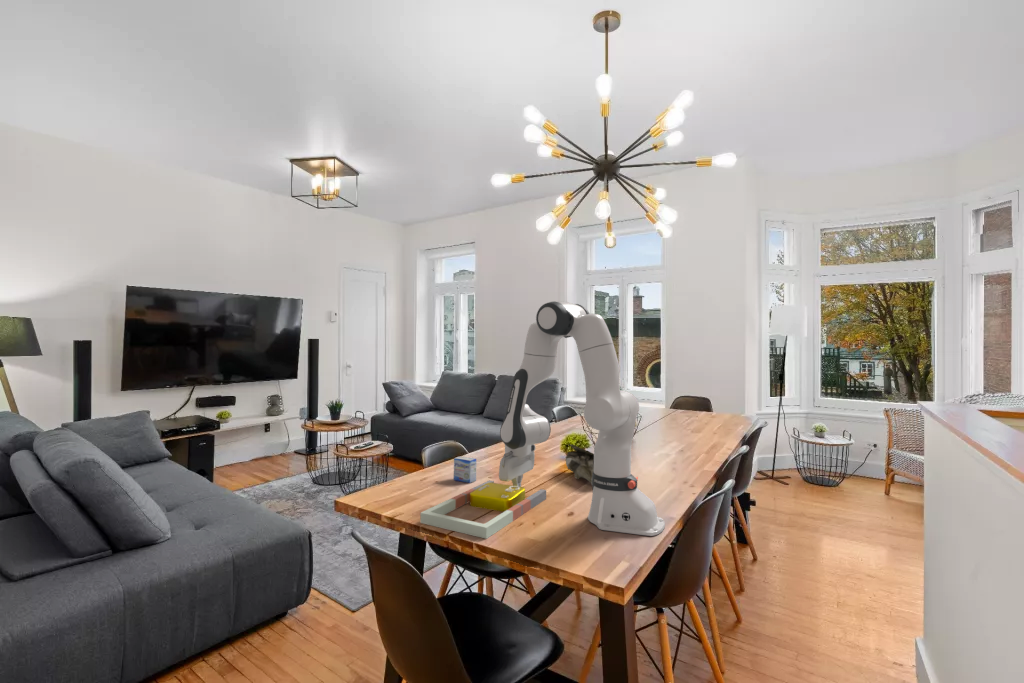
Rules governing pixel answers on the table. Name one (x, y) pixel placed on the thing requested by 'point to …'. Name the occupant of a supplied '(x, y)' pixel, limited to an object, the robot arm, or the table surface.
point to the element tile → (497, 496)
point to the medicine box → (464, 469)
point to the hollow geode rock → (580, 463)
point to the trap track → (439, 519)
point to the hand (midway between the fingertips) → (516, 487)
